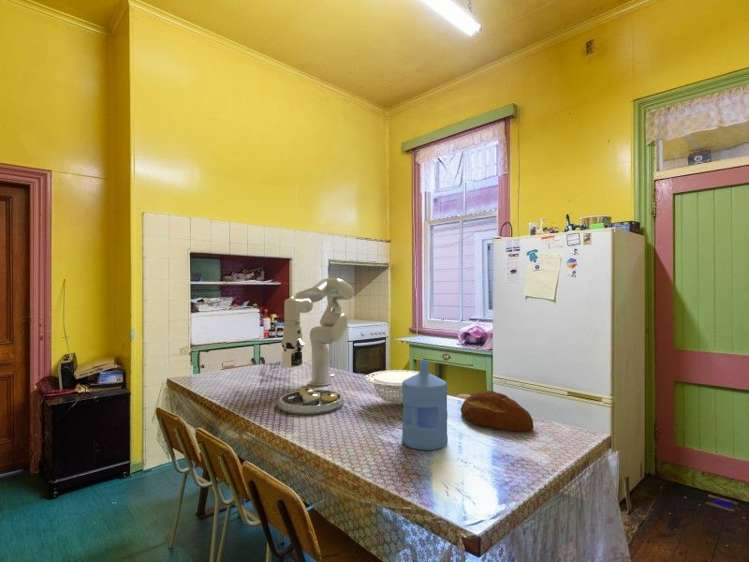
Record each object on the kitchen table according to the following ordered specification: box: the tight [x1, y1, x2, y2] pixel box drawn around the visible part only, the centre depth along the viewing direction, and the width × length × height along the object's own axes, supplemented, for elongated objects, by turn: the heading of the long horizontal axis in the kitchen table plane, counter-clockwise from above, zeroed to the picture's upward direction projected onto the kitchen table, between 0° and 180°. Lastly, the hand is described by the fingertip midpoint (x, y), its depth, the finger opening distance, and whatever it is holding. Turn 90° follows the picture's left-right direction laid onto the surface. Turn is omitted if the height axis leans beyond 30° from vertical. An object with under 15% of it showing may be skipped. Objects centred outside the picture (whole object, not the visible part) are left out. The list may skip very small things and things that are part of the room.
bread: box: [460, 390, 535, 433], centre depth 164 cm, size 21×33×12 cm, turn 33°
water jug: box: [401, 360, 449, 451], centre depth 144 cm, size 16×16×28 cm
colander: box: [363, 369, 420, 406], centre depth 189 cm, size 32×32×13 cm
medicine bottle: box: [281, 343, 303, 368], centre depth 208 cm, size 7×7×12 cm
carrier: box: [278, 387, 344, 416], centre depth 189 cm, size 29×29×6 cm
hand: (292, 358), depth 208 cm, fingers closed on medicine bottle, 7 cm apart
